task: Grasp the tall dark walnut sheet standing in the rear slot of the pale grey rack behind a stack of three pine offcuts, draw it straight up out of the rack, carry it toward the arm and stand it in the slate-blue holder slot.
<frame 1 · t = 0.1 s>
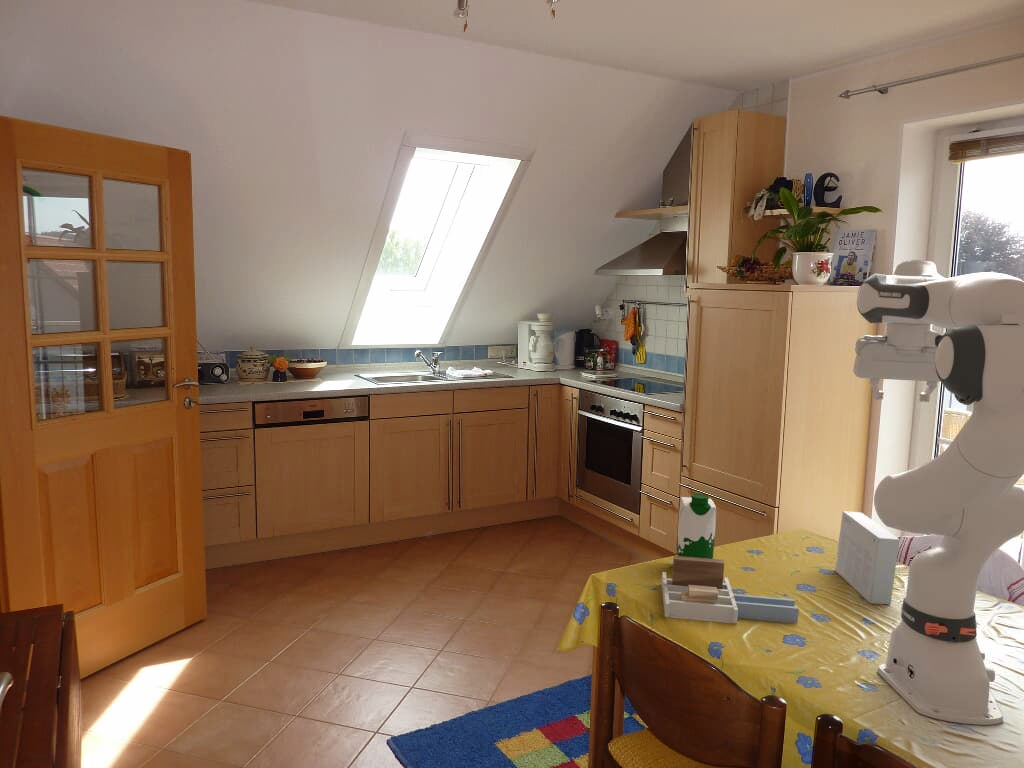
hand: (901, 400, 170), 48 cm above the table, fingers open, 8 cm apart
skincare box: (862, 587, 190), on the table
holder: (763, 618, 170), on the table
milk carton: (693, 571, 196), on the table
rack: (696, 606, 175), on the table
walnut sheet: (696, 597, 178), point 1 cm above the table, touching rack
offcut top: (702, 596, 169), point 5 cm above the table, touching offcut mid
offcut mid: (697, 604, 170), point 3 cm above the table, touching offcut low, offcut top
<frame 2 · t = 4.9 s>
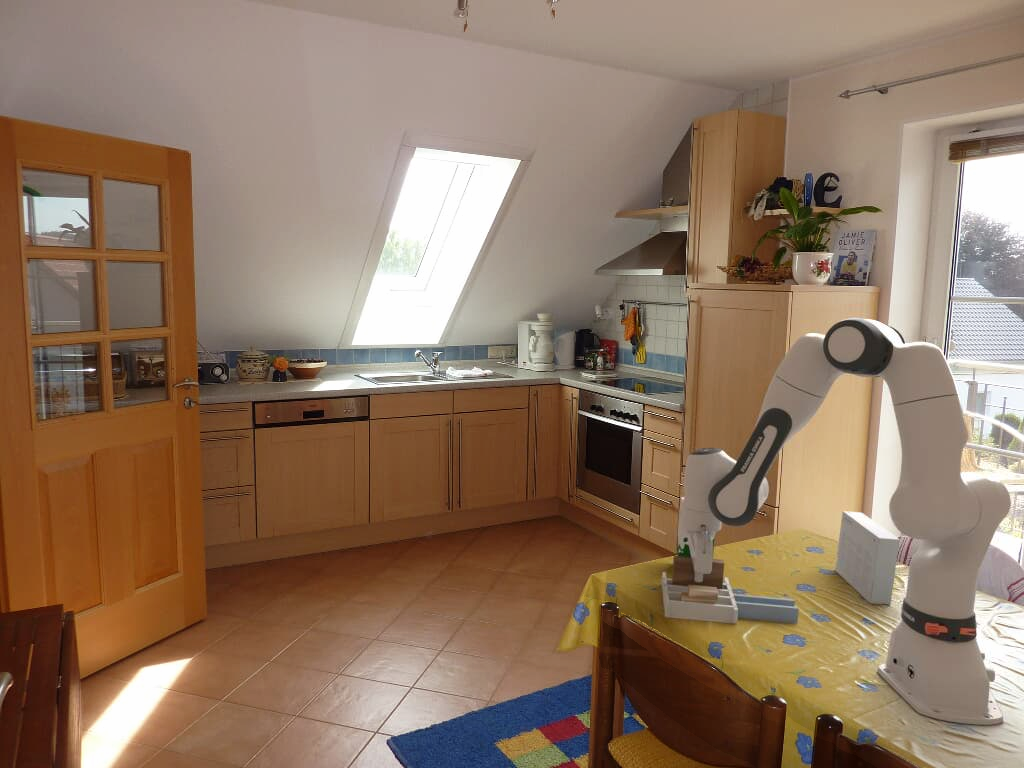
hand: (697, 577, 177), 6 cm above the table, fingers closed on walnut sheet, 2 cm apart
walnut sheet: (696, 597, 178), point 1 cm above the table, touching gripper, rack
everything else where it was.
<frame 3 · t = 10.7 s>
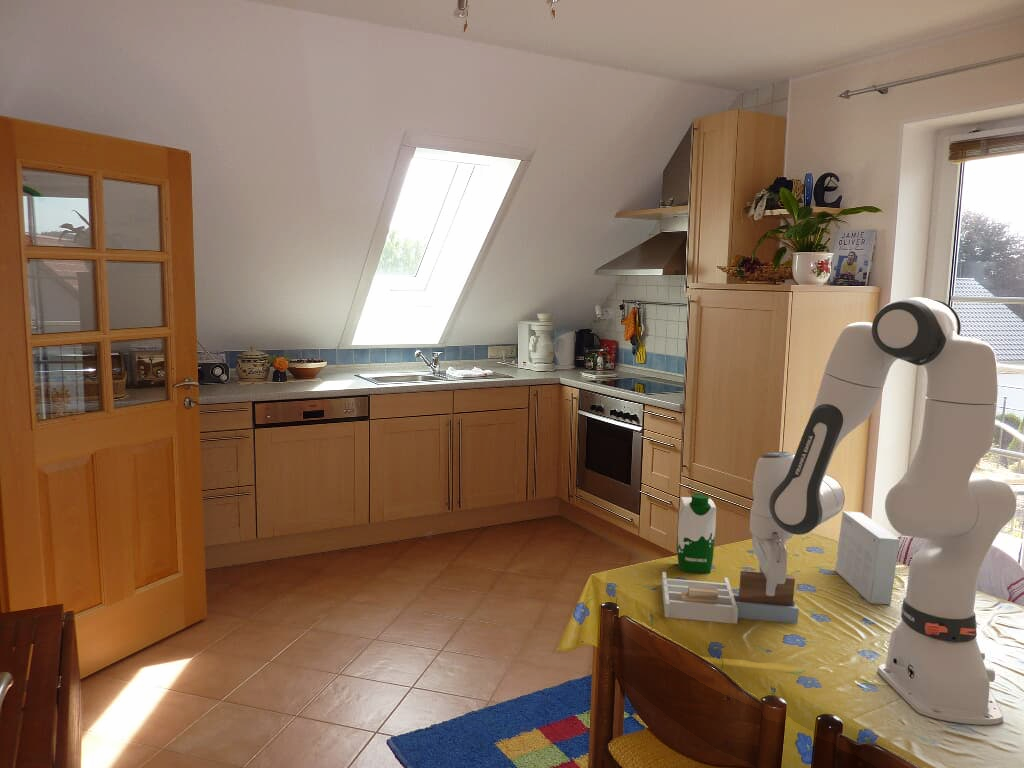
hand: (766, 587, 169), 7 cm above the table, fingers open, 6 cm apart
walnut sheet: (764, 614, 170), point 1 cm above the table, touching holder
everything else where it was.
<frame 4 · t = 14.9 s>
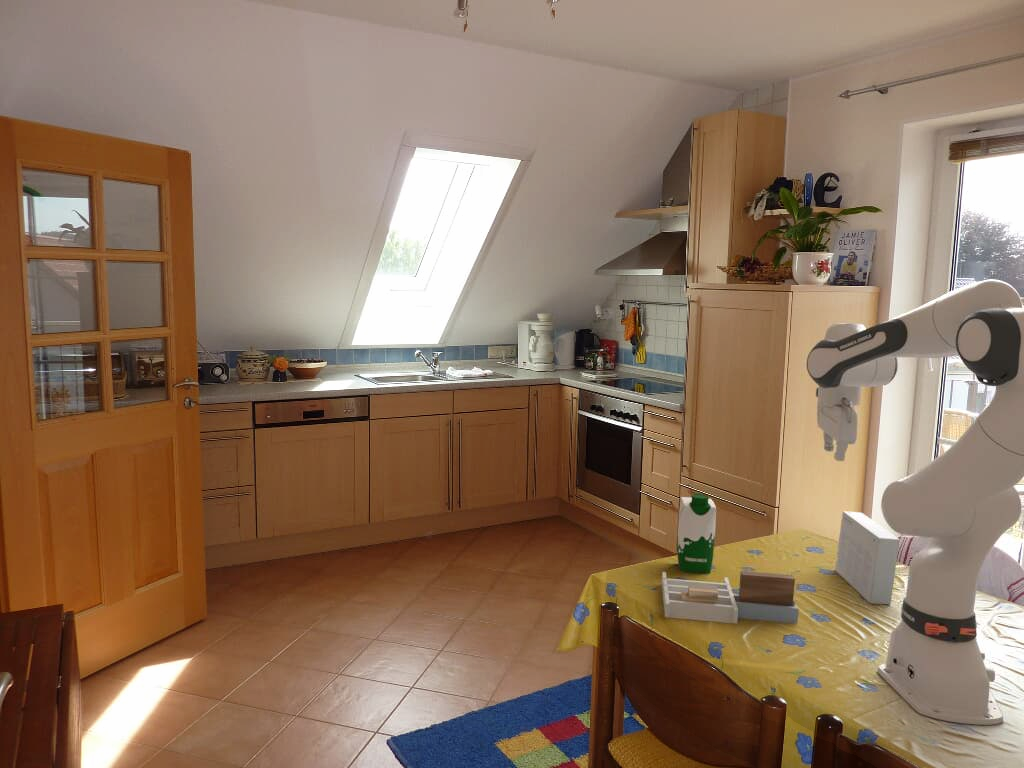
hand: (833, 455, 177), 34 cm above the table, fingers open, 8 cm apart
nothing on the table moved.
at the end: walnut sheet inside the target area on the holder (0.0 cm from its centre), point 1.0 cm above the holder's base; walnut sheet tilted 0°; walnut sheet touching holder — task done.
